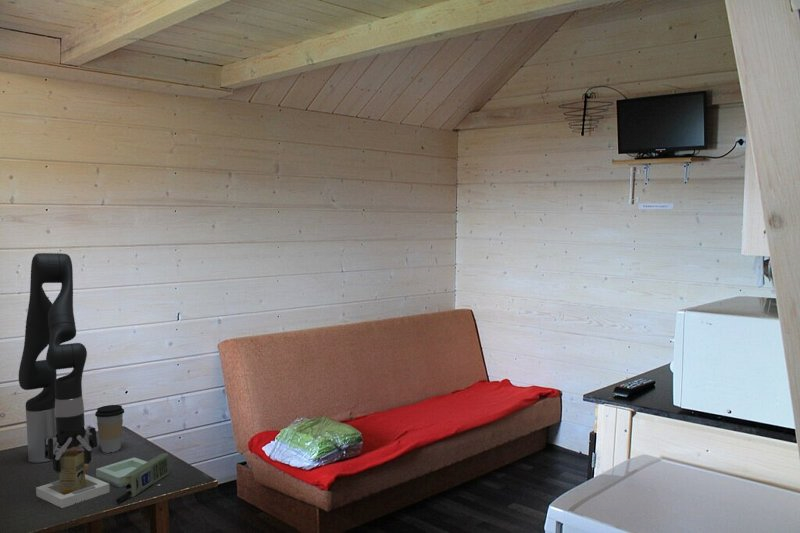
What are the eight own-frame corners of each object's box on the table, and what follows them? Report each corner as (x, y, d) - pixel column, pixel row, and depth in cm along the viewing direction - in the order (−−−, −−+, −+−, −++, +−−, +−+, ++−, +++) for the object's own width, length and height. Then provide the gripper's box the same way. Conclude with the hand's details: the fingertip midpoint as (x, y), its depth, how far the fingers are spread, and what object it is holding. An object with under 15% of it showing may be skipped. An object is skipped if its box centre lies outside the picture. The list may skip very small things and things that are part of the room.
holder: (36, 496, 200) (36, 486, 200) (83, 481, 211) (83, 472, 211) (61, 508, 191) (61, 498, 191) (109, 492, 202) (109, 482, 202)
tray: (96, 478, 213) (95, 469, 213) (134, 466, 224) (134, 457, 224) (118, 487, 206) (118, 477, 205) (157, 474, 216) (157, 465, 216)
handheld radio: (171, 473, 217) (123, 505, 193) (162, 473, 218) (113, 505, 194) (169, 452, 217) (121, 482, 192) (160, 452, 218) (111, 481, 193)
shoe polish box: (85, 491, 204) (83, 450, 203) (77, 497, 199) (75, 456, 198) (69, 490, 204) (67, 450, 203) (60, 497, 199) (58, 456, 198)
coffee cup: (101, 446, 245) (99, 404, 244) (129, 445, 246) (127, 403, 245) (92, 455, 236) (90, 412, 235) (121, 453, 237) (119, 410, 236)
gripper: (86, 405, 208) (89, 458, 209) (38, 416, 196) (41, 472, 197) (99, 408, 203) (102, 463, 204) (51, 420, 192) (54, 477, 193)
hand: (72, 467), depth 201 cm, fingers open, 8 cm apart
